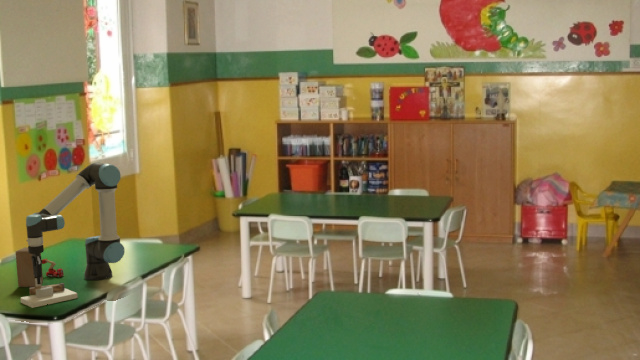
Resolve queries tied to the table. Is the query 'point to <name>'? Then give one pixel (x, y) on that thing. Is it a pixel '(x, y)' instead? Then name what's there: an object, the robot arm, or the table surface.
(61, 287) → the folding leg
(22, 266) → the block
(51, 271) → the toy fire truck
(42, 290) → the white slotted base
